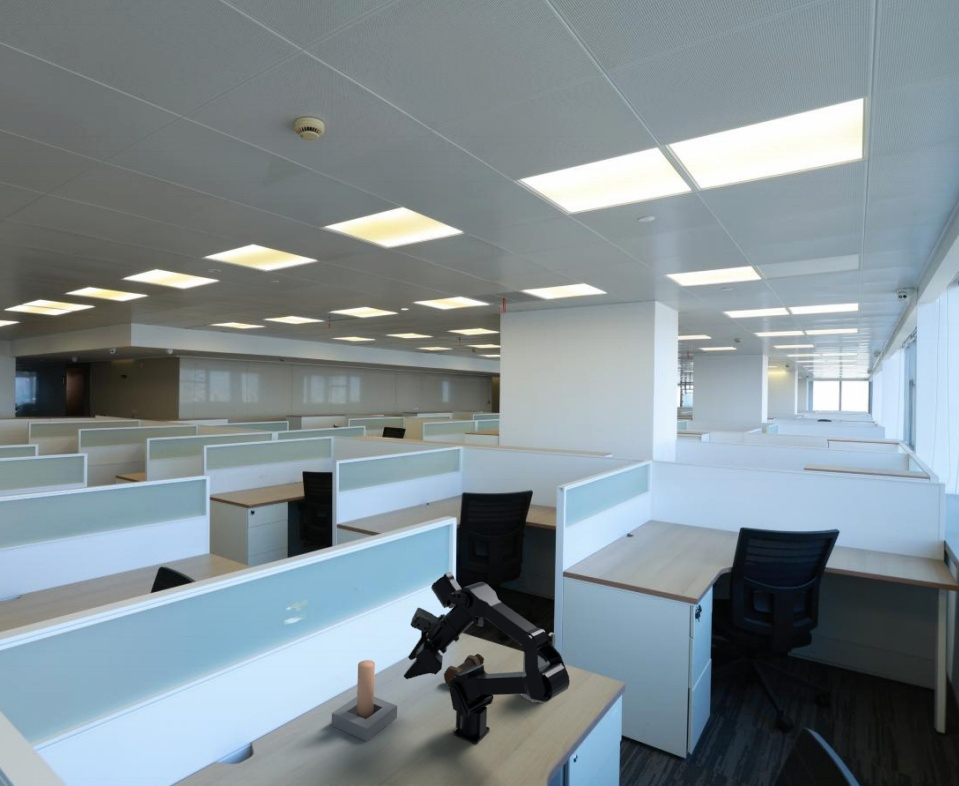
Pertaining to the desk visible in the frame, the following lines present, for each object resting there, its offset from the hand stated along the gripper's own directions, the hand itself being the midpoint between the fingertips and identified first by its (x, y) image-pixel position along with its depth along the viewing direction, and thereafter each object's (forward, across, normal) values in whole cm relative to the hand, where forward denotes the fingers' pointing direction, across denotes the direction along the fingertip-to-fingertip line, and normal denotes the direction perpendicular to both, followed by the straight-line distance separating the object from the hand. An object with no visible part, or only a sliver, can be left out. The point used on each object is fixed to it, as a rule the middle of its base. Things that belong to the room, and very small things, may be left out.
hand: (407, 667), depth 135 cm
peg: (+17, 0, +3) cm, 17 cm away
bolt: (0, -24, +20) cm, 31 cm away
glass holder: (-15, -17, +34) cm, 41 cm away
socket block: (+17, 0, +3) cm, 17 cm away
